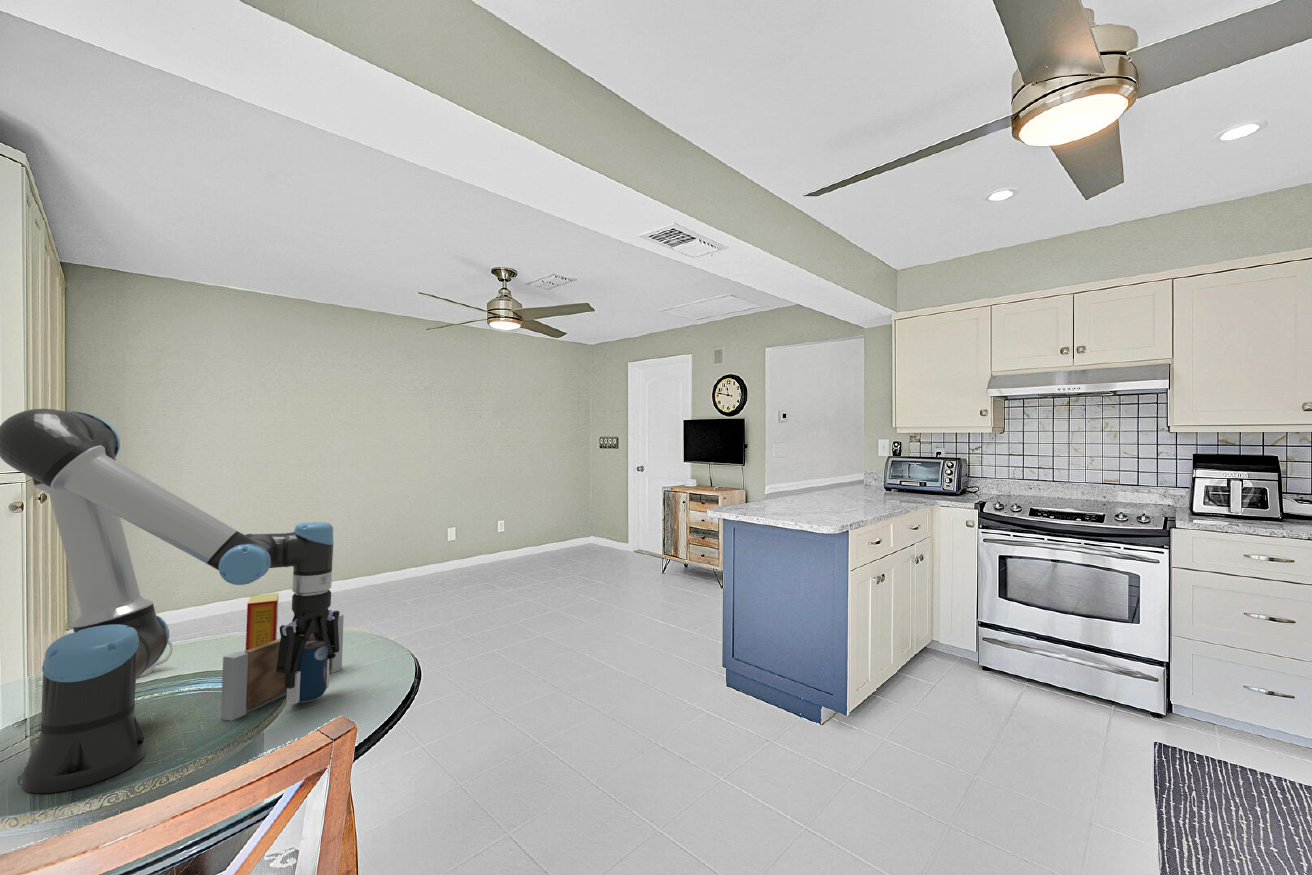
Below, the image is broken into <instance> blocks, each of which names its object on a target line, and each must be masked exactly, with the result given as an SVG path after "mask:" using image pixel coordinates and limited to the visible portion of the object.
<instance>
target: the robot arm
mask: <svg viewBox="0 0 1312 875" xmlns="http://www.w3.org/2000/svg"><path fill="white" fill-rule="evenodd" d="M120 440H121V439H120V436H119V434H118V432H117V431H116V429H115V428H114V427H113V426H112V425H111V423H109V422H107V421H106V420H105V419H102V418H100V417H98V416H95V415H92V414H90V413H87V412H86V413H85V412H82V411H66V410H65V411H64V410H58V409H53V408H52V409H51V408H34V409H28V410H24V411H20V412H18V413H16V414H14V415H11V416H9V417H8V418H7V419H6V420H4V421H3V422H2V423H1V424H0V458H1V460H2V461H3V462H4V463H5V464H6V465H8V466H10V467H11V468H13V469H14V470H16V471H18V472H20V473H22V474H24V475H26V476H27V477H30V478H31V479H32V482H33V487H34V488H36V489H38V490H40V491H43V492H46V493H47V494H48V496H49V498H50V503H51V506H52V510H53V514H54V517H55V521H56V525H57V529H58V533H59V537H60V540H61V543H62V547H63V550H64V554H65V558H66V562H67V565H68V566H67V567H68V570H69V573H70V577H71V580H72V584H73V588H74V591H75V595H76V596H75V597H76V599H77V603H78V607H79V611H80V614H79V616H78V617H77V619H76V620H75V621H74V623H72V624H71V625H72V629H73V632H71V633H68V634H66V635H64V636H61V637H59V638H57V639H55V641H53V642H52V643H51V644H49V646H47V649H46V651H45V654H44V660H43V662H42V666H41V671H42V691H41V711H40V713H41V714H40V731H39V732H40V734H39V737H38V739H37V741H36V743H35V745H34V747H33V750H32V752H31V755H30V756H29V759H28V761H27V763H26V766H25V767H24V769H23V772H22V781H21V782H22V784H21V787H22V789H23V790H24V791H25V792H28V793H33V794H48V793H51V794H53V793H60V792H64V791H65V792H66V791H69V790H75V789H77V788H78V789H79V788H82V787H86V786H89V785H90V786H91V785H92V784H95V783H98V782H101V781H104V780H107V779H109V778H111V777H114V776H116V775H119V774H121V773H123V772H124V771H126V770H128V769H130V768H131V767H133V766H134V765H136V764H137V763H139V762H140V761H141V760H142V759H143V758H144V757H145V754H146V750H147V749H146V745H147V744H146V743H147V741H146V737H145V735H144V732H143V730H142V728H141V726H140V724H139V720H138V719H137V717H136V716H137V715H136V713H135V707H136V687H137V685H136V683H137V679H138V677H139V676H140V675H141V674H142V673H143V672H144V671H145V670H147V669H148V668H150V667H151V666H152V665H153V664H154V663H155V662H156V661H157V660H158V659H161V658H162V655H163V654H164V653H165V650H166V648H167V646H168V645H169V644H168V641H169V639H170V630H169V629H170V628H169V626H168V624H167V623H166V621H165V620H164V619H163V617H161V616H159V615H157V613H156V609H155V605H154V602H153V600H150V599H147V598H144V597H142V596H141V594H140V588H139V584H138V581H137V577H136V573H135V569H134V565H133V562H132V558H131V554H130V551H129V546H128V542H127V539H126V534H125V532H124V527H123V524H122V520H125V521H127V522H128V523H130V524H132V525H134V526H135V527H137V528H139V529H142V530H143V531H146V533H149V534H150V535H153V536H154V537H156V538H158V539H160V540H162V541H163V542H165V543H168V544H169V545H171V546H173V547H174V548H176V549H178V550H180V551H182V552H185V553H186V554H187V555H189V556H192V557H193V558H196V559H197V560H199V561H200V562H203V563H204V564H207V565H208V566H210V567H211V568H213V569H216V570H217V571H218V573H219V574H220V576H221V578H222V579H223V580H224V581H225V582H226V583H228V584H231V585H236V586H243V585H248V584H252V583H254V582H255V581H257V580H260V579H261V578H262V577H263V576H265V575H266V574H267V573H268V571H269V570H270V569H276V568H290V567H292V568H293V569H292V570H293V571H292V573H293V574H292V588H291V590H292V592H293V595H291V596H292V597H291V610H292V612H293V614H294V615H293V618H292V620H291V622H290V623H288V624H286V625H284V624H283V625H280V627H279V628H278V630H279V634H280V638H281V639H280V638H279V639H280V646H279V653H278V660H277V667H276V672H279V673H285V688H287V694H286V702H287V703H293V704H298V703H300V702H299V698H300V673H301V672H300V671H297V669H298V666H299V663H300V660H301V656H302V654H303V651H304V647H305V644H306V641H307V640H309V638H310V635H311V634H312V633H313V634H314V636H315V639H317V640H319V641H323V640H325V644H326V645H327V647H328V659H327V687H326V690H327V689H329V684H330V683H329V681H330V673H329V671H330V670H331V658H335V656H336V654H334V653H337V652H339V632H338V618H339V614H340V611H339V610H331V609H329V608H330V607H331V605H332V591H331V590H330V589H331V588H332V580H333V579H332V578H333V576H332V575H333V558H334V556H333V555H334V528H333V525H332V524H331V523H330V522H324V521H323V522H321V521H316V522H315V521H314V522H313V521H312V522H301V523H297V524H296V525H295V526H294V530H293V532H292V531H291V532H284V533H282V532H281V533H246V534H244V533H242V532H240V531H238V530H237V529H235V528H234V527H232V526H230V525H228V524H226V523H225V522H223V521H221V520H220V519H218V518H216V517H215V516H212V515H211V514H209V513H207V512H206V511H204V510H202V509H200V508H198V507H197V506H195V505H193V504H192V503H190V502H188V501H186V500H185V499H184V498H181V497H179V496H178V495H176V494H174V493H173V492H170V491H169V490H167V489H166V488H164V487H162V486H161V485H158V484H156V483H155V482H153V481H152V480H150V479H148V478H147V477H145V476H142V475H141V474H140V473H138V472H136V471H135V470H133V469H131V468H129V467H127V466H125V465H123V464H122V463H120V462H118V461H117V459H116V457H117V456H118V453H119V451H120V448H121V441H120ZM121 519H122V520H121ZM325 622H326V623H325ZM300 634H301V635H304V636H300ZM160 657H161V658H160ZM291 666H292V667H291ZM139 678H140V677H139Z"/></svg>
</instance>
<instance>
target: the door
mask: <svg viewBox="0 0 1312 875" xmlns="http://www.w3.org/2000/svg"><path fill="white" fill-rule="evenodd" d="M300 636H304V635H301V634H300ZM280 639H281V637H280V638H277V640H275V641H272V642H269V643H266V644H264V645H261V646H258V647H255V648H252V649H249V650H247V651H246V650H244V651H243V653H248V671H247V696H246V708H249V707H251V706H253V705H256V704H258V703H260V702H262V701H264V700H266V699H269V698H271V697H273V696H275V695H277V694H279V693H282V692H284V691H286V690H287V688H285V673H279V672H276V667H277V660H278V653H279V646H280ZM310 639H315V636H314V634H313V633H312V634H311V635H310V638H309V640H310Z"/></svg>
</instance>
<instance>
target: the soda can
mask: <svg viewBox="0 0 1312 875" xmlns="http://www.w3.org/2000/svg"><path fill="white" fill-rule="evenodd" d="M327 659H328V647H327V645H326V644H325V640H323V641H319V640H317V639H310V640H307V641H306V644H305V647H304V651H303V654H302V656H301V660H300V663H299V666H298V669H297V671H300V672H301V673H300V698H299V702H298V703H309V702H312V701H315V700H318V699H320V698H321V697H322V696H323V695H324V694H325V692H326V691H327V689H326V687H327ZM291 667H292V666H291Z"/></svg>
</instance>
